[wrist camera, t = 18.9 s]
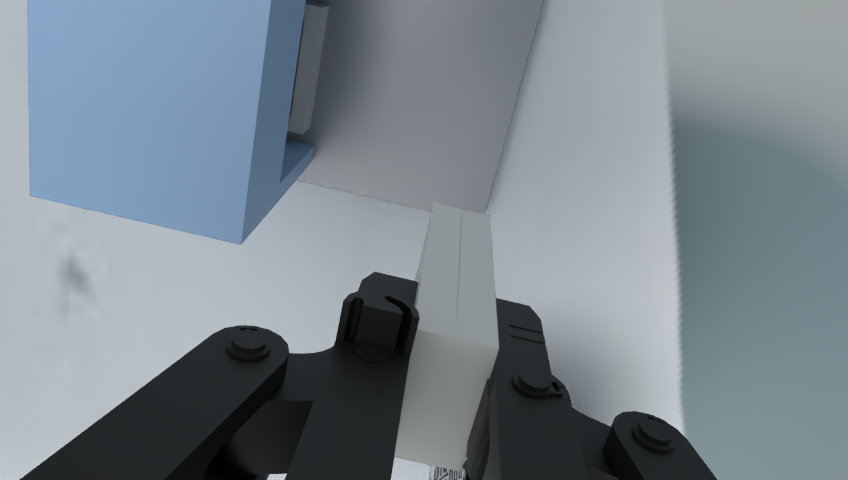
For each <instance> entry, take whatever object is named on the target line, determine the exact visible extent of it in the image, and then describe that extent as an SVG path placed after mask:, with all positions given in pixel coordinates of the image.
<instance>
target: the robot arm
mask: <svg viewBox="0 0 848 480" xmlns="http://www.w3.org/2000/svg"><path fill="white" fill-rule="evenodd" d="M466 453H467V470H466V473H465V477H464V480H717V479H716V477H715V476H714V475H713V473H712V472H711V471H710V469H709V468H708V467H707V465H706V464H705V463H704V461H703V460H702V459H701V458H700V456H699V455H698V454H697V452H696V451H695V450H694V448H693V447H692V445H691V444H690V443H689V441H688V440H687V439H686V438H685V437H684V436H683V435H682V434H681V433H680V432H679V431H678V430H677V429H676V428H674V427H673V426H671V425H670V424H668V423H667V422H665V421H664V420H662V419H660V418H658V417H657V418H656V417H655V416H653V415H650V414H645V413H640V412H635V411H632V412H622V413H621V414H619V415H617V416H616V417H615V419H614V421H613V423H612V426H611V427H610V426H608V425H606V424H603V423H601V422H599V421H597V420H594V419H592V418H590V417H588V416H586V415H584V414H582V413H580V412H578V411H577V410H575V409H574V408H572V405H571V400H570V396H569V393H568V391H567V389H566V387H565V386H564V385H563V384H562V383H561V382H560V381H559V380H558V379H557V378H556V377H554V376H553V375H551V370H550V365H549V360H548V354H547V349H546V346H545V339H544V335H543V329H542V324H541V319H540V318H539V317H538V316H537V314H536V313H535V312H534V311H533V310H532V309H531V307H530V306H527V305H523V304H519V303H514V302H510V301H506V300H501V299H497V298H496V296H495V282H494V268H493V254H492V240H491V226H490V215H485V214H481V213H477V212H473V211H468V210H464V209H460V208H456V207H451V206H447V205H443V204H438V203H434V204H433V209H432V213H431V217H430V221H429V225H428V229H427V233H426V237H425V242H424V246H423V250H422V254H421V258H420V262H419V266H418V270H417V275H416V279H415V281H412V280H408V279H403V278H399V277H395V276H390V275H386V274H382V273H377V272H374V273H372V274H371V275H369V276H368V277H366V278H364V279H363V280H362V282H361V285H360V287H359V290H358V291H357V292H355V293H352V294H349V295H348V296H347V297H346V299H345V300H344V301H343V306H342V311H341V316H340V321H339V326H338V331H337V337H336V342H335V344H334V346H333V347H332V348H330V349H327V350H325V351H322V352H317V353H307V354H292V353H289V349H288V344H287V343H286V342H285V341H284V339H283V338H282V337H281V336H279V335H278V334H276V333H274V332H272V331H270V330H268V329H264V328H260V327H256V326H234V327H229V328H224V329H222V330H220V331H218V332H216V333H214V334H212V335H211V336H210V337H208V338H207V339H206V340H204V341H203V342H202V343H200V344H199V345H198V346H196V347H195V348H194V349H192V350H191V351H190V352H188V353H187V354H186V355H184V356H183V357H182V358H180V359H179V360H178V361H177V362H175V363H174V364H173V365H171V366H170V367H169V368H167V369H166V370H165V371H163V372H162V373H161V374H159V375H158V376H157V377H155V378H154V379H153V380H151V381H150V382H149V383H147V384H146V385H145V386H143V387H142V388H141V389H139V390H138V391H137V392H135V393H134V394H133V395H131V396H130V397H129V398H127V399H126V400H125V401H123V402H122V403H121V404H119V405H118V406H117V407H115V408H114V409H113V410H111V411H110V412H109V413H107V414H106V415H105V416H104V417H102V418H101V419H100V420H98V421H97V422H96V423H94V424H93V425H92V426H90V427H89V428H88V429H86V430H85V431H84V432H82V433H81V434H80V435H78V436H77V437H76V438H74V439H73V440H72V441H70V442H69V443H68V444H66V445H65V446H64V447H62V448H61V449H60V450H58V451H57V452H56V453H54V454H53V455H52V456H50V457H49V458H48V459H46V460H45V461H44V462H42V463H41V464H40V465H38V466H37V467H36V468H34V469H33V470H32V471H31V472H29V473H28V474H27V475H25V476H24V477H23V478H21V479H20V480H267V478H268V476H269V474H285V473H287V475H286V478H285V480H391V474H392V467H393V461H394V457H397V458H401V459H406V460H410V461H415V462H419V463H423V464H428V465H432V466H437V467H441V468H446V469H450V470H454V471H459V472H461V469H462V466H463V463H464V460H465V456H466Z"/></svg>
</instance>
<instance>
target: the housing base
mask: <svg viewBox="0 0 848 480" xmlns="http://www.w3.org/2000/svg"><path fill="white" fill-rule="evenodd" d="M543 1H544V0H306V3H305V10H304V17H303V24H302V31H301V38H300V45H299V52H298V59H297V66H296V73H295V80H294V87H293V94H292V101H291V108H290V115H289V122H288V129H287V136H286V139H288V140H292V141H296V142H300V143H305V144H309V145H313V146H314V152H313V158H312V162H311V163H310V164H309V166H308V167H307V168H306V169H305V170H304V171H303V173H302V174H301V175H300V176H299V177H298V178H297V180H298V181H302V182H307V183H311V184H315V185H320V186H324V187H328V188H332V189H337V190H341V191H345V192H350V193H354V194H358V195H362V196H367V197H371V198H375V199H379V200H384V201H388V202H392V203H397V204H401V205H405V206H409V207H414V208H418V209H422V210H427V211H431V212H432V209H433V204H434V203H438V204H443V205H447V206H451V207H456V208H460V209H464V210H468V211H473V212H477V213H481V214H485V211H486V208H487V204H488V200H489V197H490V193H491V190H492V186H493V182H494V179H495V175H496V171H497V168H498V164H499V161H500V157H501V153H502V150H503V146H504V143H505V139H506V135H507V132H508V128H509V124H510V121H511V117H512V114H513V110H514V106H515V103H516V99H517V95H518V92H519V88H520V85H521V81H522V77H523V74H524V70H525V66H526V63H527V59H528V56H529V52H530V48H531V45H532V41H533V38H534V34H535V30H536V27H537V23H538V19H539V16H540V12H541V9H542V5H543Z"/></svg>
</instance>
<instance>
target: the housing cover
mask: <svg viewBox="0 0 848 480" xmlns="http://www.w3.org/2000/svg"><path fill="white" fill-rule="evenodd" d="M305 3H306V0H28V71H29V148H30V196H33V197H37V198H41V199H46V200H50V201H54V202H58V203H63V204H67V205H71V206H76V207H80V208H84V209H89V210H93V211H97V212H102V213H106V214H110V215H115V216H119V217H123V218H128V219H132V220H136V221H141V222H145V223H149V224H154V225H158V226H162V227H167V228H171V229H175V230H179V231H184V232H188V233H192V234H197V235H201V236H205V237H210V238H214V239H218V240H223V241H227V242H231V243H236V244H240V245H241V244H242V243H243V242H244V241H245V239H246V238H247V237H248V236H249V235H250V233H251V232H252V231H253V230H254V229H255V228H256V226H257V225H258V224H259V223H260V222H261V221H262V219H263V218H264V217H265V216H266V215H267V214H268V212H269V211H270V210H271V209H272V208H273V207H274V205H275V204H276V203H277V202H278V201H279V200H280V198H281V197H282V196H283V195H284V194H285V193H286V191H287V190H288V189H289V188H290V187H291V185H292V184H293V183H294V182H295V181H296V180H297V178H298V177H299V176H300V175H301V174H302V173H303V171H304V170H305V169H306V168H307V167H308V166H309V164H310V163H311V162H312V158H313V152H314V146H313V145H309V144H305V143H300V142H296V141H292V140H288V139H286V136H287V129H288V122H289V115H290V108H291V101H292V94H293V87H294V80H295V73H296V66H297V59H298V52H299V45H300V38H301V31H302V24H303V17H304V10H305Z"/></svg>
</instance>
